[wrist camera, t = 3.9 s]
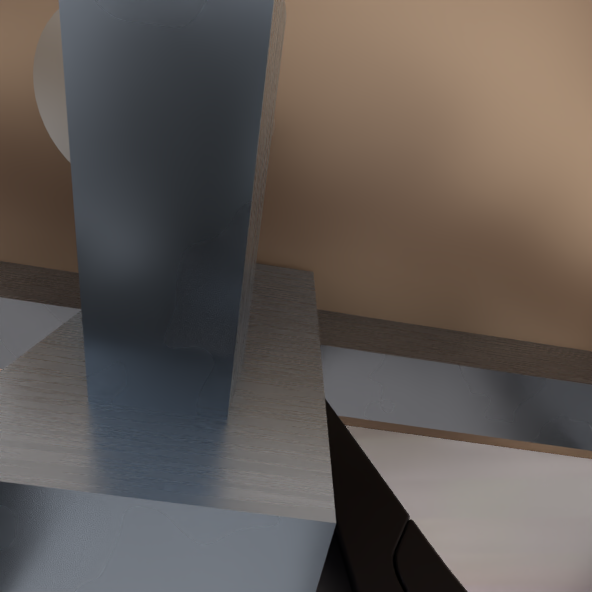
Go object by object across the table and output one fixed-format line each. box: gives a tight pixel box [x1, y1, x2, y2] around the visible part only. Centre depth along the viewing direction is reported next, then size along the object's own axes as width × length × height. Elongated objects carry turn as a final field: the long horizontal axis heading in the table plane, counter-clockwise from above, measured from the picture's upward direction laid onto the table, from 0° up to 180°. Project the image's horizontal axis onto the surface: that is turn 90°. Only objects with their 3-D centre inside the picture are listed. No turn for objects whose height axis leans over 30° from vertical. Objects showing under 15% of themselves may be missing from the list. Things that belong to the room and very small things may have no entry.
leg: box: [0, 0, 336, 592], centre depth 6 cm, size 9×4×7 cm, turn 171°
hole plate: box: [0, 0, 592, 459], centre depth 10 cm, size 12×25×1 cm, turn 81°
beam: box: [0, 261, 592, 451], centre depth 7 cm, size 9×22×7 cm, turn 81°
